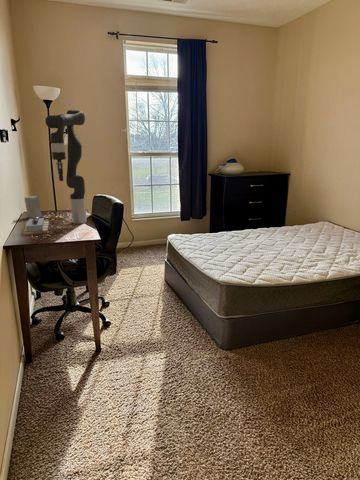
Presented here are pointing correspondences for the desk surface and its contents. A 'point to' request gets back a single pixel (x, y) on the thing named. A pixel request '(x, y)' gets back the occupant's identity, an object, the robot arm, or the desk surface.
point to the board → (45, 230)
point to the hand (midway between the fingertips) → (61, 180)
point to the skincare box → (33, 206)
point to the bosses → (35, 220)
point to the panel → (32, 227)
